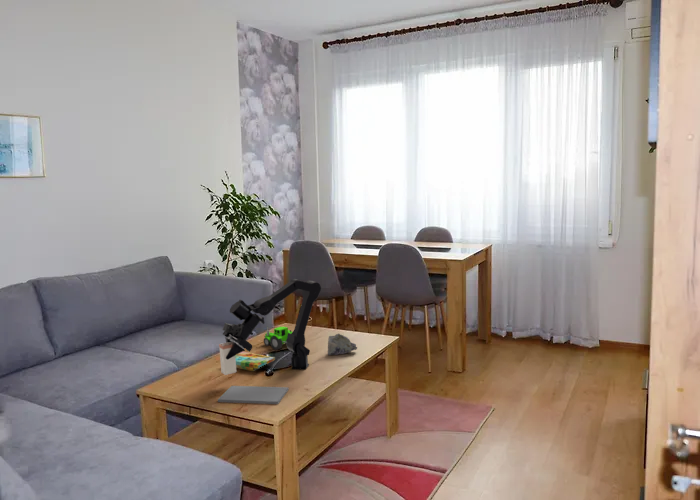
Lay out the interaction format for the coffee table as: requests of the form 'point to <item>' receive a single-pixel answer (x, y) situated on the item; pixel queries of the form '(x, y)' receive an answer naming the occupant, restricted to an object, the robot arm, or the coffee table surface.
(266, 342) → the toy tractor
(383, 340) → the coffee table surface
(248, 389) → the mat
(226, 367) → the card box
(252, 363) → the puzzle game
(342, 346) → the mineral rock
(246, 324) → the robot arm
